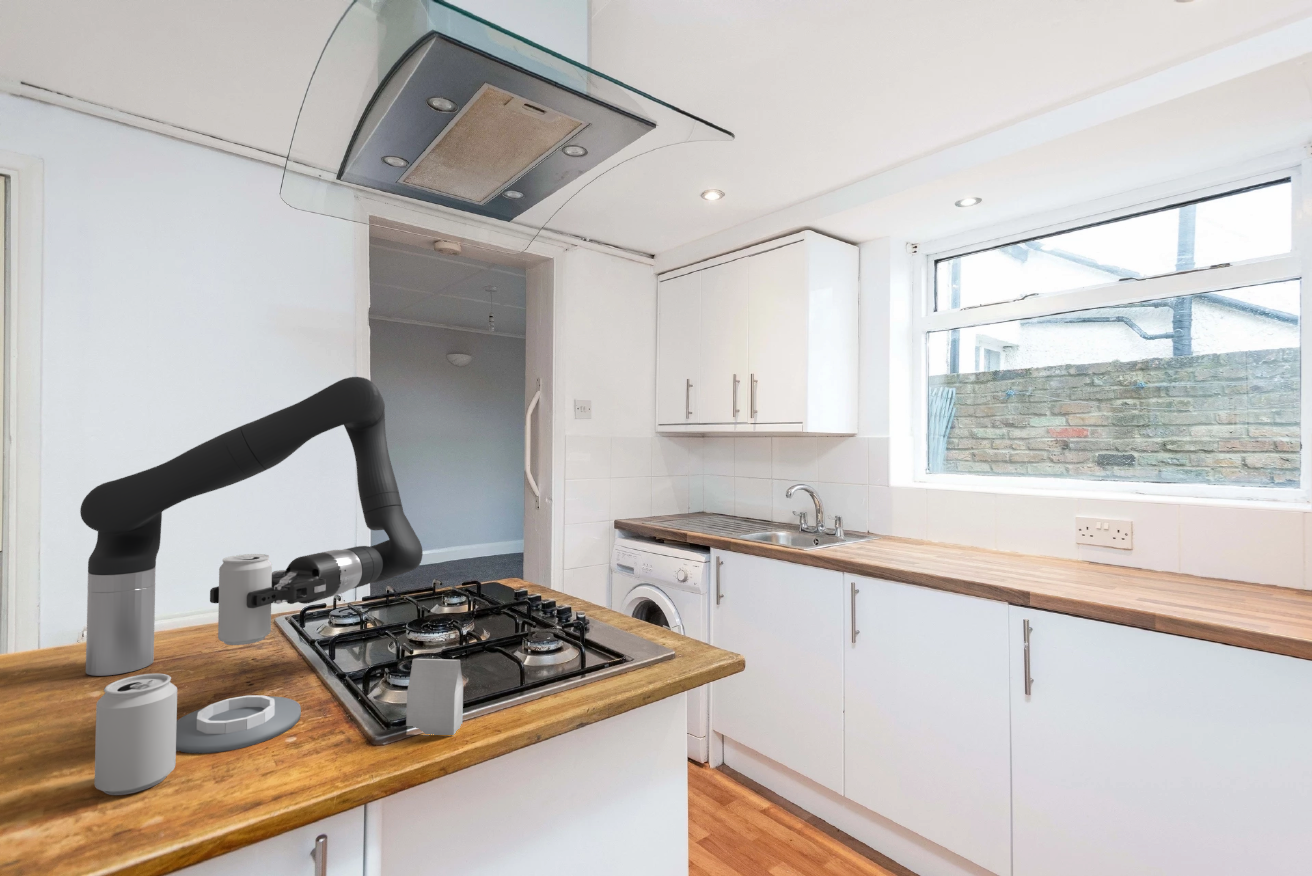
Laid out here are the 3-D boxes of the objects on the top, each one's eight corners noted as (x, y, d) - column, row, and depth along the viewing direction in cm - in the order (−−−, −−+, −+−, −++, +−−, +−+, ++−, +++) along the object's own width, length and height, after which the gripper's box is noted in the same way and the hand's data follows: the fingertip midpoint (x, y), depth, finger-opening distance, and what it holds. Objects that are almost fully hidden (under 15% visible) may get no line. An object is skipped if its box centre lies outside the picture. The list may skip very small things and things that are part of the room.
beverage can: (245, 648, 88) (246, 562, 88) (206, 644, 89) (208, 559, 89) (281, 634, 94) (282, 554, 94) (244, 631, 95) (245, 551, 95)
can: (126, 766, 79) (128, 670, 79) (189, 764, 80) (191, 669, 80) (76, 800, 72) (79, 694, 72) (146, 798, 72) (149, 693, 73)
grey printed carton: (453, 736, 89) (455, 664, 89) (406, 734, 89) (407, 663, 89) (462, 724, 93) (463, 656, 93) (416, 723, 93) (418, 654, 93)
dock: (172, 716, 93) (173, 699, 93) (297, 695, 102) (298, 679, 102) (158, 764, 80) (159, 744, 80) (304, 735, 88) (304, 717, 88)
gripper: (291, 549, 107) (193, 567, 91) (360, 555, 103) (269, 576, 87) (290, 593, 107) (192, 619, 91) (359, 601, 103) (268, 631, 87)
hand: (230, 598), depth 89 cm, fingers closed on beverage can, 6 cm apart
